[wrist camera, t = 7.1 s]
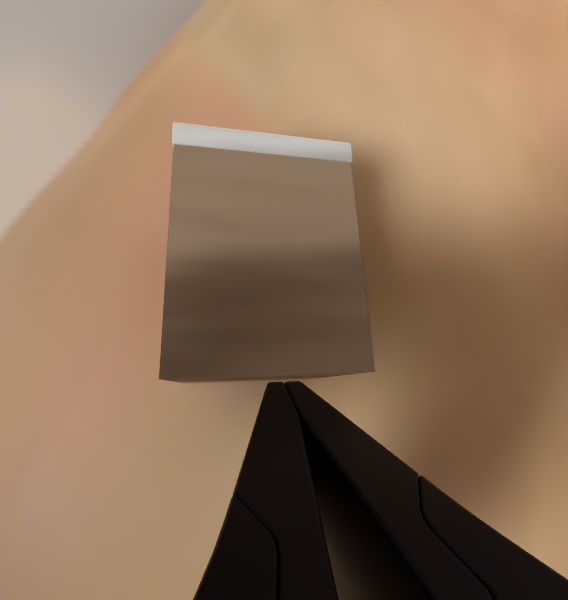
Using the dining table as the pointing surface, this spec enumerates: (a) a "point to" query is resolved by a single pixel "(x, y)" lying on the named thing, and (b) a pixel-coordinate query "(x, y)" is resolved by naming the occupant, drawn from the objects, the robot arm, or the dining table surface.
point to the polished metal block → (262, 260)
